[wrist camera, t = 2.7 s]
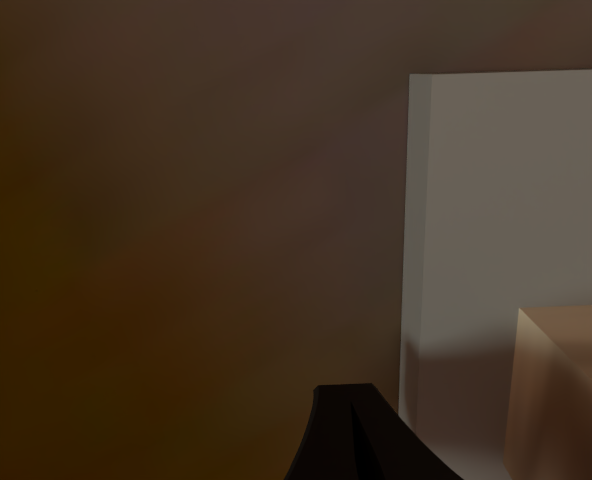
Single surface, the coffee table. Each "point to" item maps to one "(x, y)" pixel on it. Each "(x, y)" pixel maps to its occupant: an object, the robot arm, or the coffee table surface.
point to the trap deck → (487, 244)
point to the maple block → (551, 395)
